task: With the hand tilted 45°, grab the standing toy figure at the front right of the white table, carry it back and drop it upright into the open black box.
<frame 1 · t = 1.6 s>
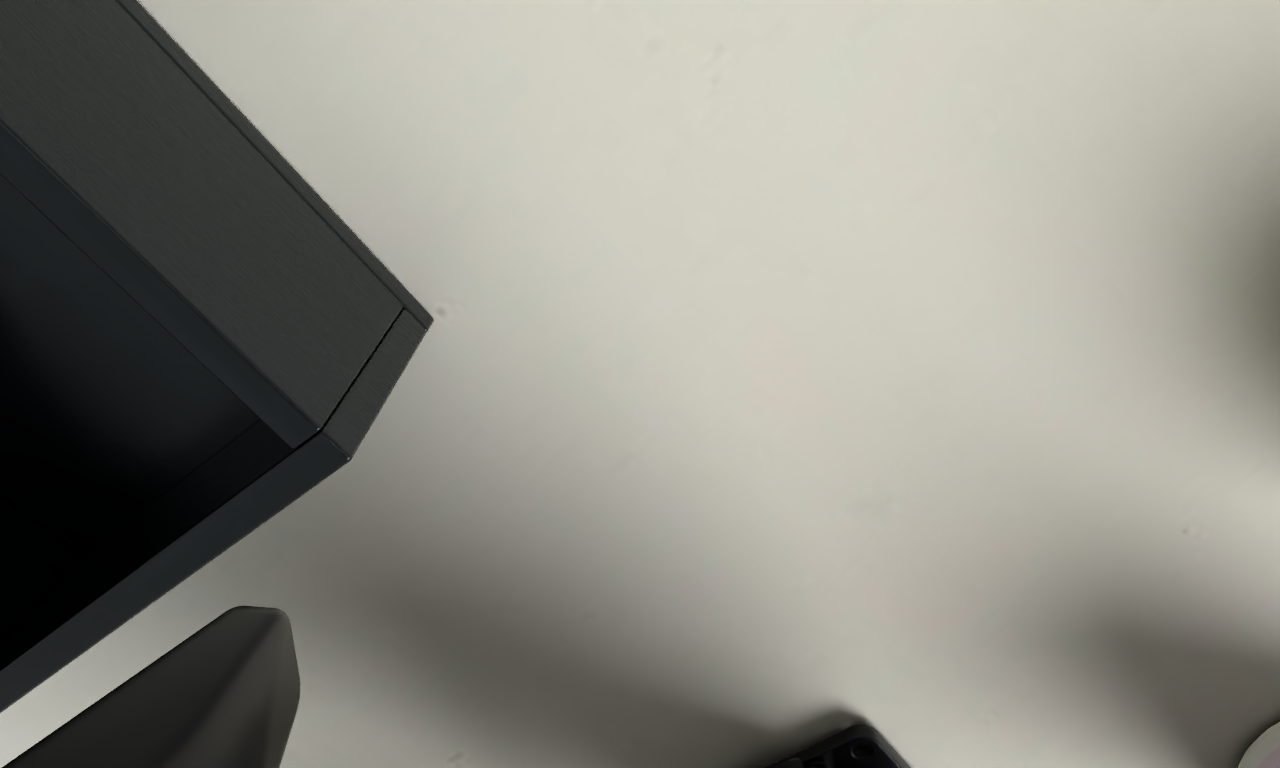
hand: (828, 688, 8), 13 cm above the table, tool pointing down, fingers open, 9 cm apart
open black box: (44, 265, 21), on the table
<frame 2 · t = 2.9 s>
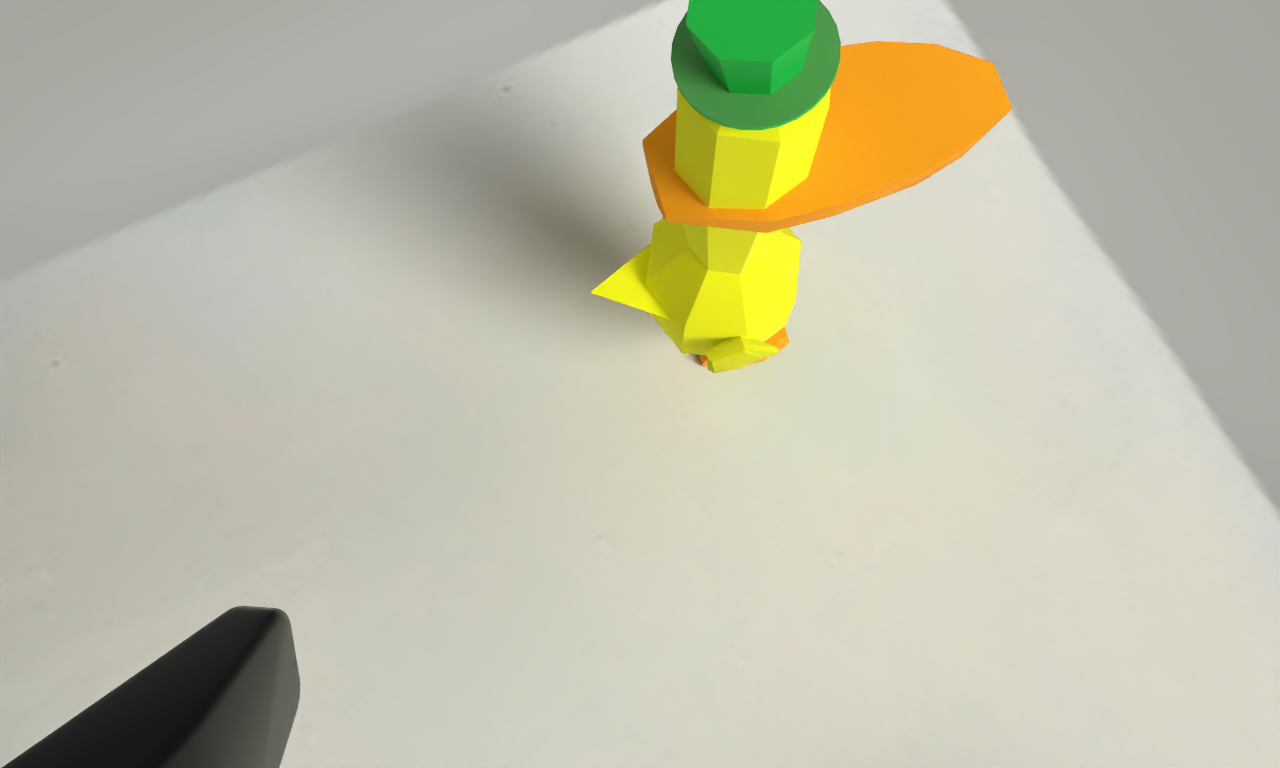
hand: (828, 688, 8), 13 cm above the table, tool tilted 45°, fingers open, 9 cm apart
toy figure: (743, 329, 23), on the table
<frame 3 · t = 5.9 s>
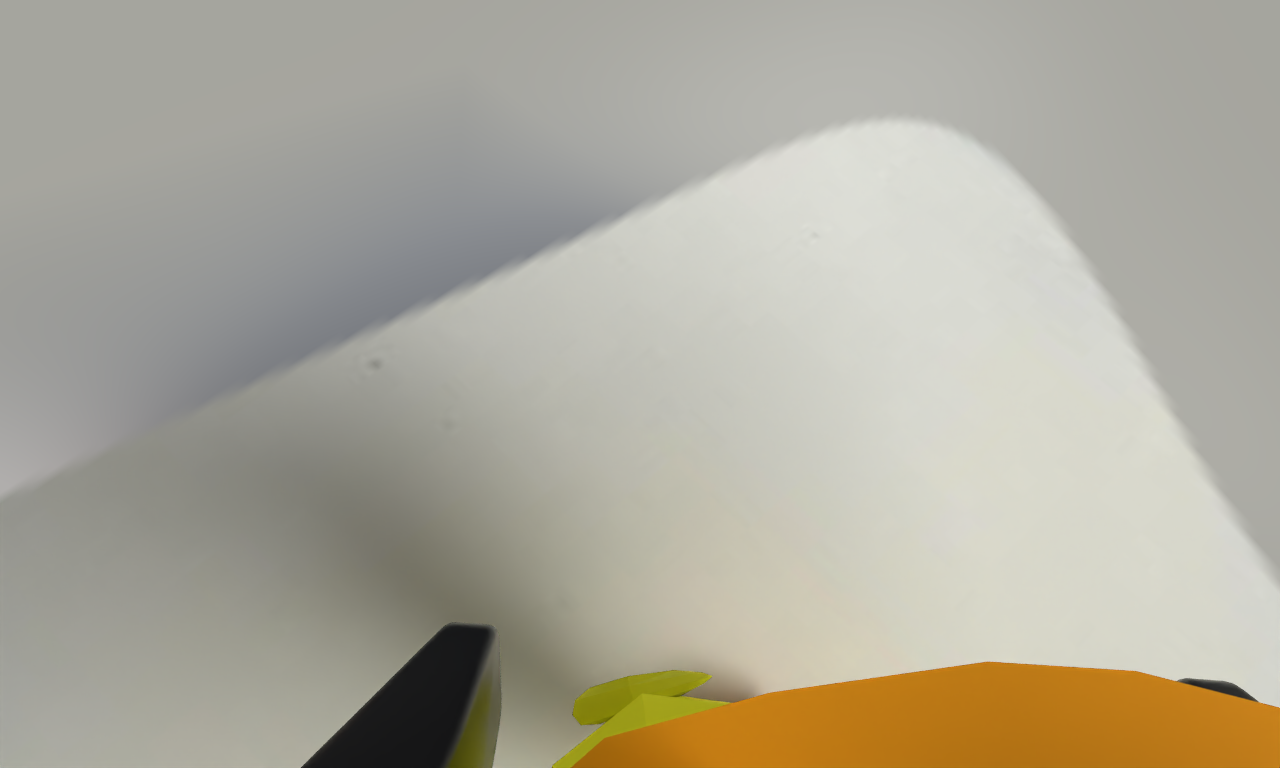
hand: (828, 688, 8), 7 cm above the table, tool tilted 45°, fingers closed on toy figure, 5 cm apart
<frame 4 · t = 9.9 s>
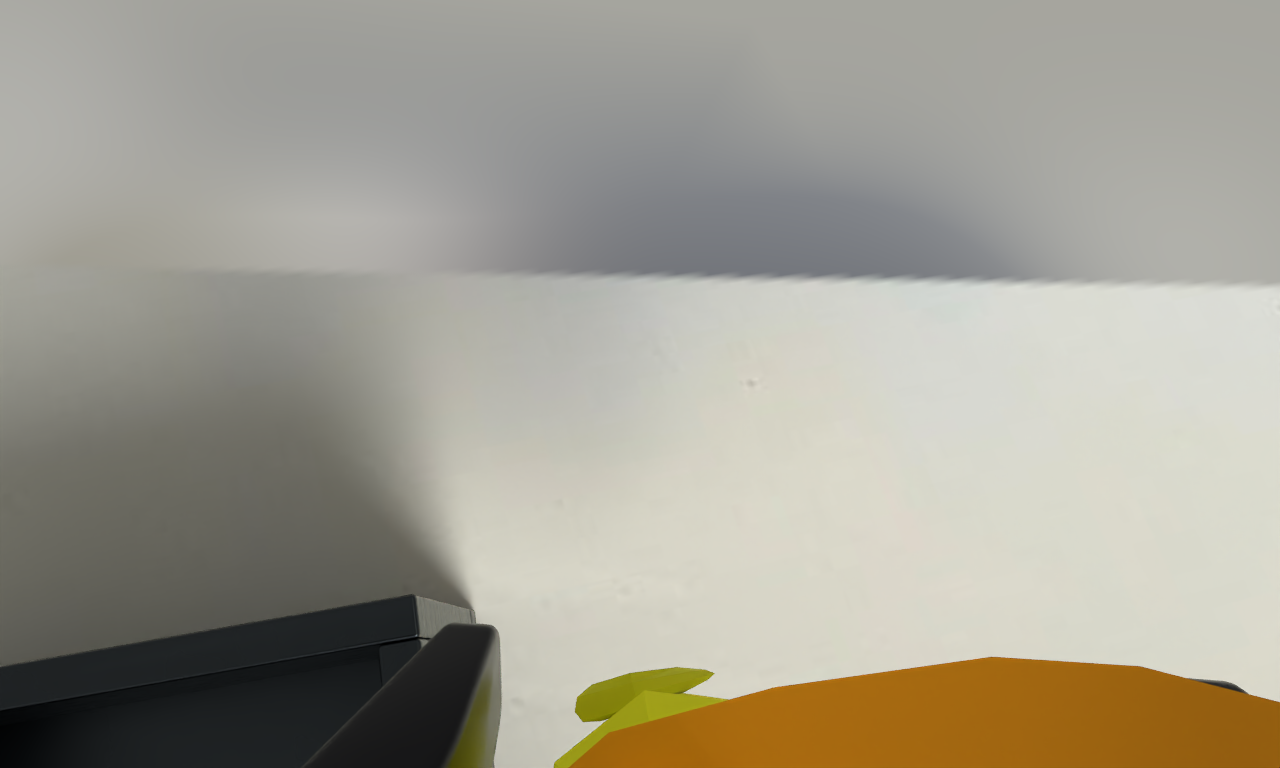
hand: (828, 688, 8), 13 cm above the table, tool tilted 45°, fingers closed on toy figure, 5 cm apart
when the fingers open (7 cm above the table, at t = 13.9 s): toy figure stays where it is, resting on open black box.
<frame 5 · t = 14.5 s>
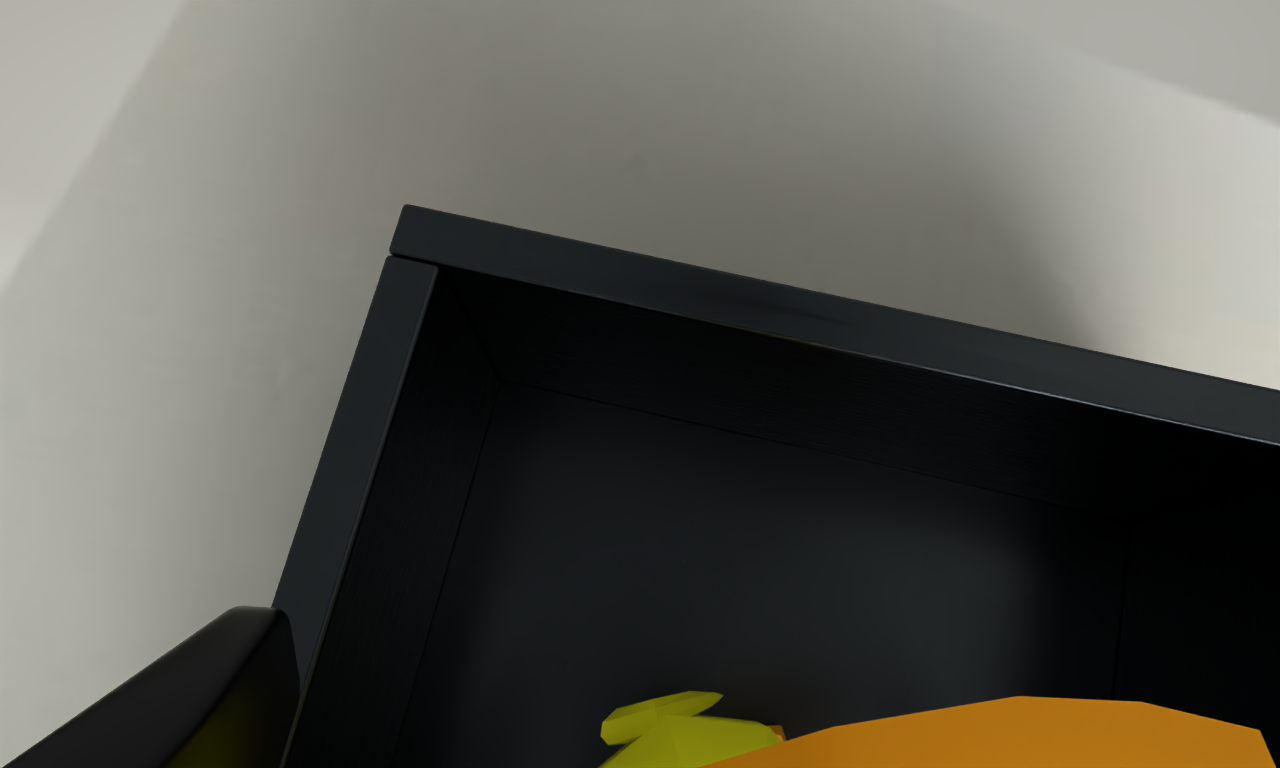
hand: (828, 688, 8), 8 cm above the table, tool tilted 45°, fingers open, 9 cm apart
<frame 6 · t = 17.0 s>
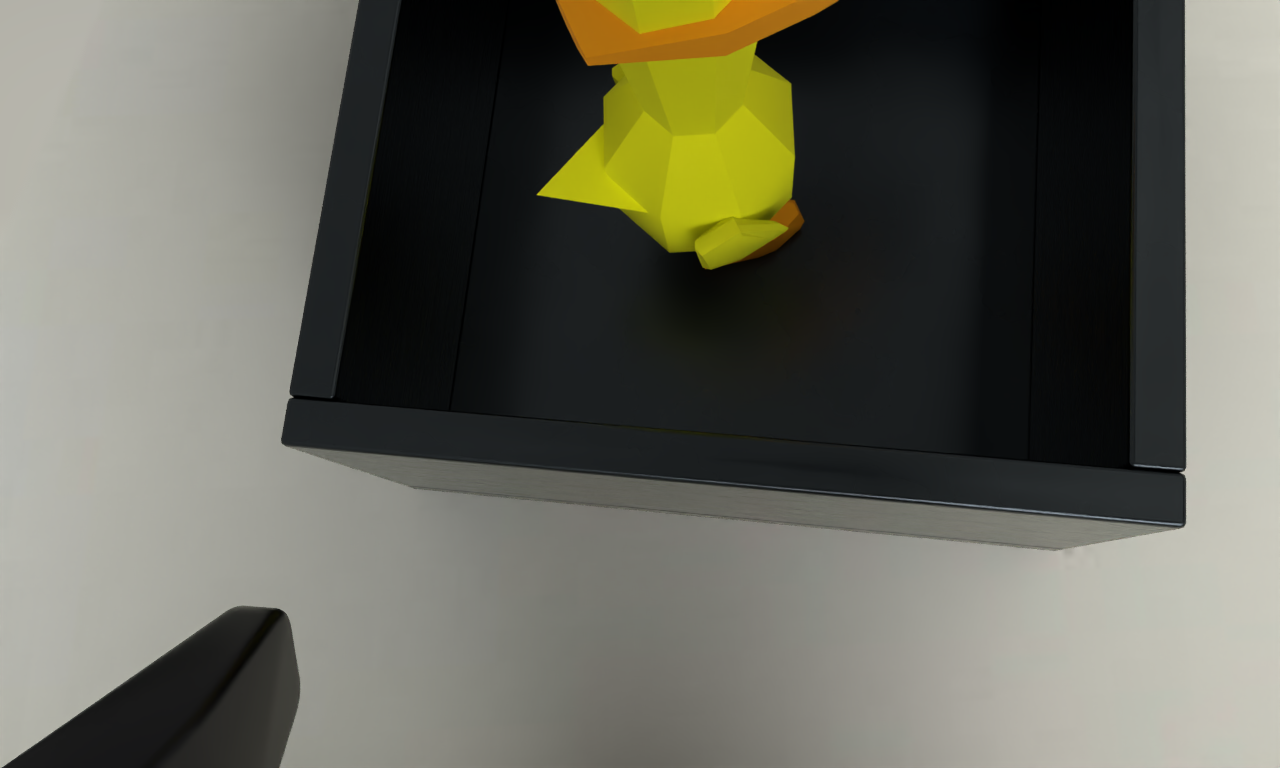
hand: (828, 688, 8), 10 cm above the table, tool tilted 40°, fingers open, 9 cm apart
toy figure: (747, 217, 19), resting on open black box
open black box: (748, 215, 20), on the table
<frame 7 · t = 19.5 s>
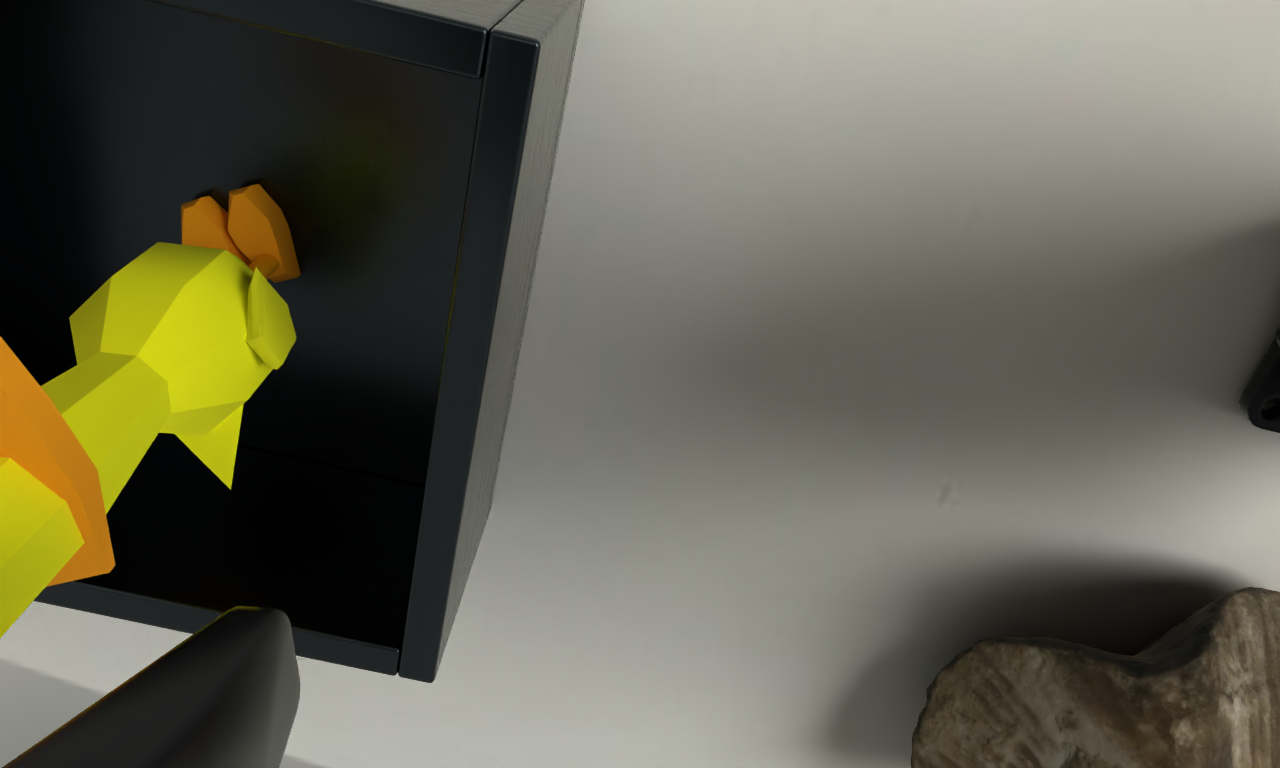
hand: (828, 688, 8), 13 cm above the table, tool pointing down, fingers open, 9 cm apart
toy figure: (248, 225, 20), resting on open black box
brown irregular lump: (1115, 674, 25), on the table
open black box: (247, 216, 21), on the table
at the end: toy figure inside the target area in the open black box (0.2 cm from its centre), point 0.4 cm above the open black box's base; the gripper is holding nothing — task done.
